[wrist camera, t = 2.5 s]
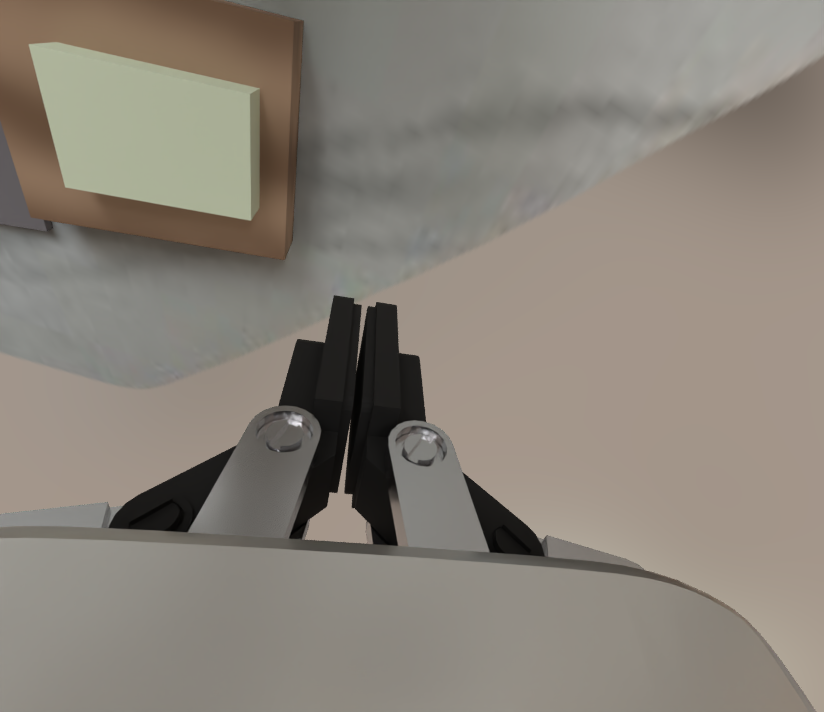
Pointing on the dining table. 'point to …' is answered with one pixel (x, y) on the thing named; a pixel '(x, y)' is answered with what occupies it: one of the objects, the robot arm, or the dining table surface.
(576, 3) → the dining table surface
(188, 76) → the pale green block
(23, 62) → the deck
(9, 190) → the mat
